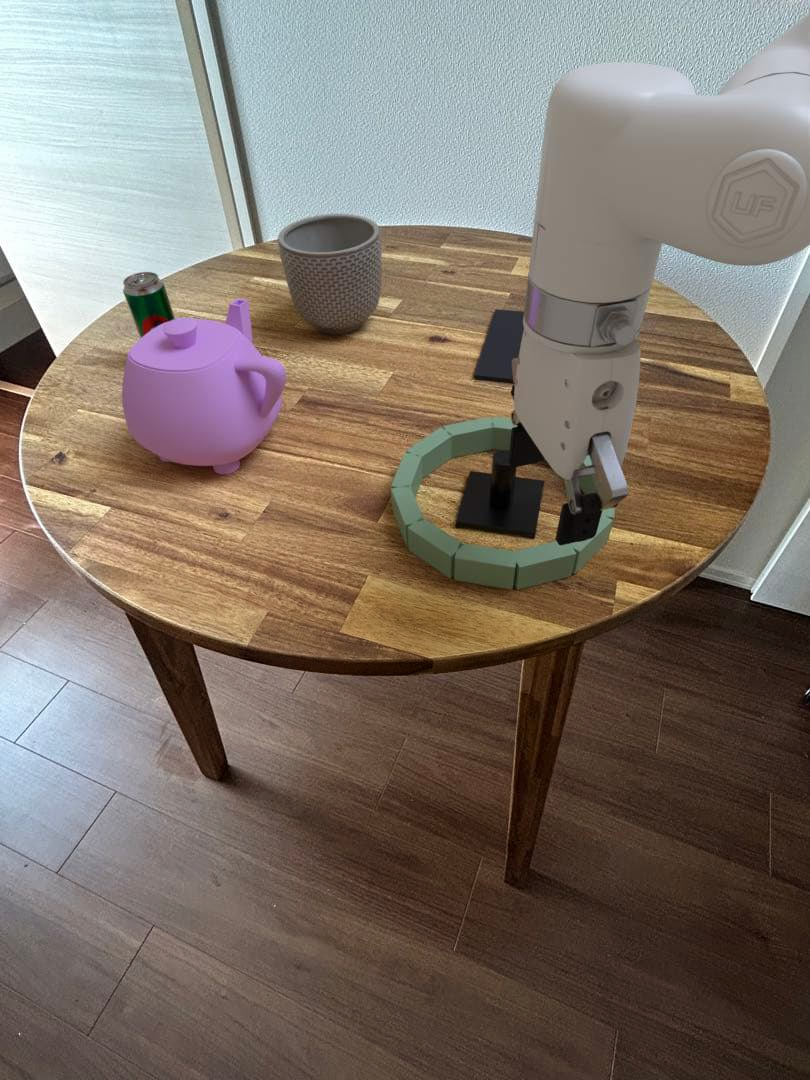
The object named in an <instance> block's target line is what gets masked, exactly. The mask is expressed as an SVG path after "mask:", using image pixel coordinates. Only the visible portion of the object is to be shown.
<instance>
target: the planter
mask: <svg viewBox="0 0 810 1080" xmlns="http://www.w3.org/2000/svg"><path fill="white" fill-rule="evenodd" d="M382 246H383V245H382V233H381V229H380V227H379V225H378V224H377V223H376V221H373V220H372V219H370V218H367V217H364V216H361V215H355V214H349V213H329V214H319V215H314V216H309V217H305V218H302V219H299V220H296V221H294V222H292V223H290V224H288V225H287V226H285V227H284V228H283V229H282V230H281V231H280V232H279V233H278V236H277V248H278V253H279V256H280V261H281V265H282V269H283V271H284V272H283V273H284V277H285V280H286V283H287V287H288V291H289V295H290V297H291V300H292V303H293V306H294V307H295V310H296V311H297V313H298V315H299V316H300V317H301V318H302V319H303V320H305V321H306V322H308V323H309V324H310V325H313V326H315V327H316V328H317V329H318V330H319V331H320V332H322V333H324V334H328V335H345V334H350V333H353V332H355V331H357V330H358V329H360V328H361V327H362V326H363V324H364V322H366V320H367V319H369V318H370V317H371V316H372V315H373V314H374V312H375V311H376V309H377V308H378V306H379V304H380V303H379V302H380V298H381V293H382V291H381V290H382V273H383V268H382V265H383V263H382V260H383V259H382V251H383V250H382Z"/></svg>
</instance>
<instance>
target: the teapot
mask: <svg viewBox="0 0 810 1080" xmlns="http://www.w3.org/2000/svg"><path fill="white" fill-rule="evenodd" d="M286 381H287V372H286V369H285V366H284V365H283V364H282V362H281V361H279V360H278V359H275V358H272V357H267V356H263V354H262V353H261V352H260V351H259V350H258V349H257V347H256V346H255V345H254V343H253V333H252V322H251V312H250V301H249V299H243V298H239V297H237V298H236V299H234V300H233V301H231V302H230V303H229V304H228V311H227V316H226V318H225V322H221V321H218V320H212V319H205V318H204V319H203V318H191V317H178V318H175V319H174V320H171V321H169V322H166V323H163V324H161V325H159V326H157V327H155V328H154V329H152V330H151V331H149V332H148V333H147V334H146V335H144V336H143V337H142V338H141V339H140V338H139V339H138V340H137V341H136V342H135V343H134V344H133V345H132V347H131V348H130V349H129V351H128V353H127V357H126V361H125V365H124V371H123V378H122V387H121V389H122V390H121V401H122V402H121V403H122V409H123V415H124V419H125V423H126V426H127V429H128V432H129V434H130V436H131V437H132V438H133V439H134V440H135V442H136V443H138V444H139V445H140V446H141V447H143V448H144V449H146V450H147V451H149V452H150V453H153V454H155V455H156V456H159V459H160V460H161V462H162V461H163V462H165V463H172V462H173V463H176V464H181V465H187V466H195V467H196V466H198V467H200V466H201V467H208V466H209V467H211V466H212V468H213V471H214V472H215V473H217V474H219V475H229V474H232V473H234V472H236V471H237V470H238V469H239V468H240V465H241V462H240V460H241V459H243V458H245V457H246V456H248V455H249V454H250V453H251V452H253V451H254V450H255V449H256V448H257V447H258V446H259V445H261V443H262V442H263V441H264V440H265V438H266V437H267V436H268V434H269V433H270V432H271V429H272V428H273V426H274V424H275V423H276V421H277V419H278V417H279V415H280V412H281V410H282V405H283V403H282V402H283V397H282V393H283V392H284V389H285V387H286V383H287V382H286Z"/></svg>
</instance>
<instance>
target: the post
mask: <svg viewBox="0 0 810 1080" xmlns="http://www.w3.org/2000/svg"><path fill="white" fill-rule="evenodd" d="M508 459H509V450H496V451H495V452H494V453H493V455H492V462H491V473H490V472H483V471H482V472H481V471H475V470H470V471H469V474H468V477H467V480H466V484H465V488H464V491H463V495H462V498H461V501H460V505H459V509H458V511H457V516H456V519H455V527H456V528H463V529H469V530H475V531H482V532H489V533H494V534H503V535H509V536H515V537H521V538H529V539H536V535H537V528H538V522H539V518H540V517H539V516H540V510H541V505H542V497H543V491H544V485H545V480H543V479H536V478H528V477H520V476H517V468H518V467H511V466H510V464H509V462H508Z"/></svg>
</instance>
